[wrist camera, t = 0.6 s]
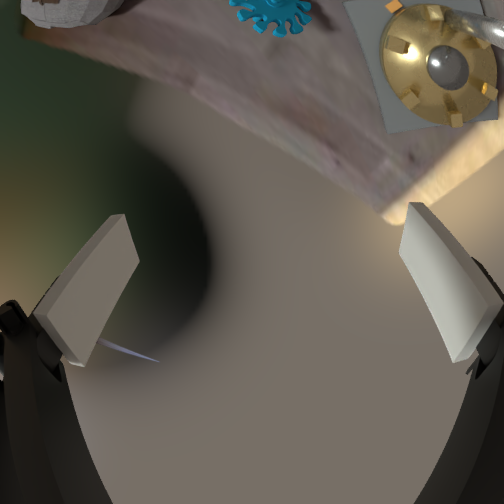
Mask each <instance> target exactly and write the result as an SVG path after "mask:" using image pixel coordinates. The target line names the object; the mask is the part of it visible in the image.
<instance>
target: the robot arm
mask: <svg viewBox="0 0 504 504" xmlns="http://www.w3.org/2000/svg"><path fill="white" fill-rule="evenodd" d="M399 254H400V256H401V258H402V259H403V261H404V263H405V264H406V266H407V268H408V270H409V272H410V274H411V275H412V277H413V279H414V281H415V282H416V285H417V286H418V288H419V290H420V292H421V294H422V296H423V298H424V300H425V302H426V304H427V306H428V308H429V310H430V312H431V314H432V316H433V318H434V320H435V323H436V324H437V327H438V329H439V331H440V333H441V336H442V338H443V340H444V343H445V345H446V347H447V349H448V352H449V354H450V357H451V359H452V361H453V363H454V362H457V361H462V360H465V359H468V358H469V357H470V356H471V354H472V353H473V351H474V350H475V348H476V349H477V351H478V353H479V356H478V357H477V358H476V359H475V361H474V362H473V363H472V365H471V366H470V367H469V369H468V370H467V372H466V374H468V373H469V372H470V371H471V370H472V369H473V371H472V374H471V378H470V381H469V385H468V388H467V391H466V394H465V397H464V400H463V403H462V406H461V409H460V412H459V415H458V417H457V420H456V422H455V425H454V427H453V430H452V432H451V435H450V437H449V439H448V442H447V443H446V446H445V448H444V450H443V452H442V454H441V456H440V458H439V460H438V462H437V464H436V466H435V468H434V470H433V472H432V474H431V476H430V477H429V479H428V481H427V483H426V484H425V487H424V488H423V490H422V491H421V493H420V495H419V496H418V498H417V500H416V501H415V503H414V504H504V294H503V293H502V291H501V290H500V288H499V287H498V286H497V284H496V283H495V282H493V279H492V277H491V276H490V275H488V272H487V271H486V269H485V268H484V267H483V265H482V264H481V263H479V262H478V261H477V260H476V259H474V258H473V257H470V255H469V254H468V253H467V252H466V251H465V249H464V248H463V247H462V246H461V244H460V243H459V242H458V241H457V240H456V238H455V237H454V236H453V235H452V234H451V233H450V231H449V230H448V229H447V228H446V227H445V226H444V225H443V224H442V223H441V221H440V220H439V219H438V218H437V217H436V216H435V215H434V214H433V213H432V212H431V211H430V210H429V209H428V208H427V207H426V206H425V204H424V203H421V202H409V205H408V210H407V216H406V221H405V226H404V231H403V235H402V240H401V245H400V249H399ZM138 263H139V258H138V255H137V253H136V249H135V247H134V244H133V241H132V238H131V234H130V231H129V228H128V225H127V222H126V219H125V215H124V214H120V215H111V216H110V217H109V218H108V219H107V221H106V222H105V223H104V224H103V225H102V226H101V227H100V228H99V229H98V231H97V232H96V233H95V234H94V235H93V236H92V237H91V238H90V240H89V241H88V242H87V243H86V244H85V245H84V247H83V248H82V249H81V250H80V251H79V253H78V254H77V255H76V256H75V257H74V259H73V260H72V261H71V262H70V264H69V265H68V266H67V267H66V268H65V270H64V271H63V272H62V274H61V275H59V276H58V277H57V278H56V279H55V281H54V282H53V283H52V285H51V286H50V288H49V289H48V290H47V291H46V293H45V295H43V297H42V298H41V300H40V301H39V303H38V304H37V305H36V307H35V308H34V310H33V311H32V313H31V314H30V316H29V317H27V316H26V314H25V313H24V311H23V310H22V308H21V307H20V305H19V304H18V302H17V301H16V300H9V301H7V302H5V303H4V304H2V305H1V306H0V330H1V331H2V332H0V373H1V374H2V375H3V376H4V377H3V381H1V380H0V504H113V503H112V501H111V499H110V497H109V495H108V493H107V491H106V489H105V487H104V485H103V483H102V481H101V479H100V476H99V474H98V472H97V470H96V467H95V465H94V463H93V460H92V458H91V455H90V453H89V450H88V448H87V445H86V442H85V439H84V437H83V434H82V431H81V428H80V425H79V422H78V419H77V415H76V412H75V409H74V405H73V402H72V398H71V394H70V390H69V386H68V383H67V378H66V374H65V369H64V366H63V363H62V362H61V361H60V358H61V356H62V354H63V355H64V356H65V358H66V359H67V360H68V361H69V362H70V364H75V365H79V366H83V367H85V364H86V363H87V360H88V358H89V356H90V354H91V352H92V350H93V348H94V346H95V343H96V341H97V339H98V337H99V335H100V333H101V331H102V329H103V327H104V325H105V323H106V321H107V319H108V317H109V315H110V313H111V312H112V310H113V308H114V306H115V304H116V302H117V300H118V299H119V297H120V295H121V293H122V291H123V289H124V287H125V286H126V284H127V282H128V280H129V279H130V277H131V275H132V273H133V272H134V270H135V268H136V266H137V265H138Z"/></svg>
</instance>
